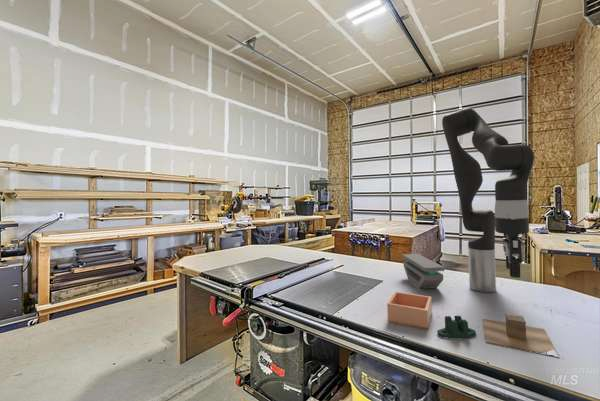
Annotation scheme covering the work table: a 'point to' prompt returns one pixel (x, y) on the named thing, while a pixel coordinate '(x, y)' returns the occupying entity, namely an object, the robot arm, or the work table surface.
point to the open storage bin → (410, 309)
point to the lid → (517, 334)
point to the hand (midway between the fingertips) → (512, 272)
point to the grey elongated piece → (422, 271)
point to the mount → (456, 328)
